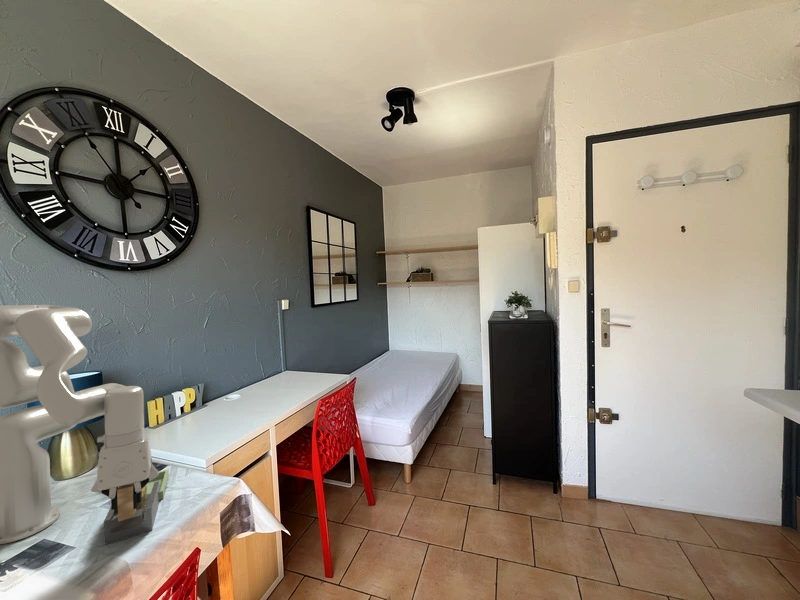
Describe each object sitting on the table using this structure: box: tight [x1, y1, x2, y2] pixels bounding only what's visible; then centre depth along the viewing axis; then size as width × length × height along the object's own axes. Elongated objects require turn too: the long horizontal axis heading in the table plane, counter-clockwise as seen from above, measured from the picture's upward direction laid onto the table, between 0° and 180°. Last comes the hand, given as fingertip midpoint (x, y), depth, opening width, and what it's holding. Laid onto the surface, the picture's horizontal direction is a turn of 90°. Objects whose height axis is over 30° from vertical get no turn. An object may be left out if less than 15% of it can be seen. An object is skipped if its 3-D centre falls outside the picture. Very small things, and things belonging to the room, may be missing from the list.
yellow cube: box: [142, 484, 147, 505], centre depth 90 cm, size 4×4×4 cm
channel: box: [103, 481, 161, 545], centre depth 87 cm, size 9×14×6 cm
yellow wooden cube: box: [136, 492, 144, 510], centre depth 86 cm, size 4×4×4 cm
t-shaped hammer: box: [110, 483, 144, 534], centre depth 81 cm, size 6×3×10 cm, turn 120°
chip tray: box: [147, 469, 170, 501], centre depth 100 cm, size 11×14×2 cm
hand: (127, 507), depth 81 cm, fingers closed on t-shaped hammer, 3 cm apart
